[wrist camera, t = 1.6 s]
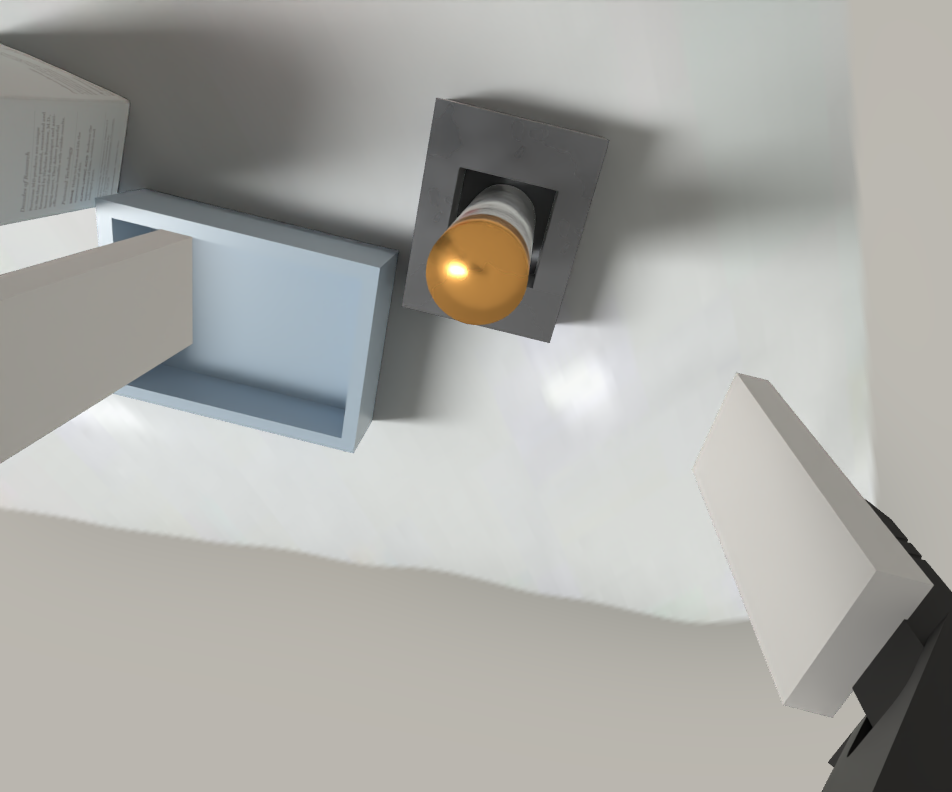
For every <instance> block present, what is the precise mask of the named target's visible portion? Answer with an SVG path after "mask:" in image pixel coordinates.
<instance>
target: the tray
mask: <svg viewBox="0 0 952 792" xmlns="http://www.w3.org/2000/svg"><path fill="white" fill-rule="evenodd" d="M95 207H96V220H97V233H98V246H99V247H100V246H104V245H107V244H111V243H114V242H118V241H121V240H125V239H128V238H132V237H135V236H139V235H142V234H146V233H149V232H153V231H156V230H160V229H162V230H166V231H170V232H174V233H178V234H182V235H186V236H190V237H192V309H193V344H191V345H189V346H188V347H186V348H185V349H183V350H181V351H180V352H178V353H177V354H175V355H173V356H172V357H170V358H169V359H167V360H165V361H164V362H162V363H161V364H159V365H157V366H156V367H154V368H153V369H151V370H149V371H148V372H146V373H145V374H143V375H141V376H140V377H138V378H137V379H135V380H133V381H132V382H130V383H129V384H127V385H125V386H124V387H122V388H121V389H119V390H117V391H116V392H114V393H113V394H117V395H121V396H125V397H129V398H133V399H137V400H141V401H145V402H149V403H153V404H157V405H161V406H165V407H169V408H173V409H177V410H181V411H185V412H189V413H193V414H197V415H201V416H205V417H209V418H213V419H218V420H222V421H226V422H230V423H234V424H238V425H242V426H246V427H250V428H254V429H258V430H262V431H266V432H270V433H274V434H278V435H282V436H286V437H290V438H294V439H298V440H302V441H306V442H310V443H314V444H318V445H322V446H326V447H330V448H334V449H338V450H342V451H346V452H350V453H354V451H355V450H356V448H357V446H358V444H359V443H360V441H361V439H362V438H363V436H364V434H365V432H366V431H367V429H368V427H369V425H370V424H371V422H372V419H373V412H374V406H375V399H376V393H377V387H378V380H379V374H380V367H381V361H382V355H383V348H384V342H385V335H386V329H387V323H388V316H389V310H390V303H391V297H392V291H393V284H394V278H395V271H396V265H397V259H398V252H399V251H397V250H393V249H389V248H385V247H381V246H377V245H373V244H369V243H365V242H360V241H356V240H352V239H348V238H344V237H340V236H336V235H332V234H328V233H324V232H320V231H316V230H312V229H308V228H303V227H299V226H295V225H291V224H287V223H283V222H279V221H275V220H271V219H267V218H263V217H259V216H255V215H251V214H247V213H242V212H238V211H234V210H230V209H226V208H222V207H218V206H214V205H210V204H206V203H202V202H198V201H194V200H190V199H185V198H181V197H177V196H173V195H169V194H165V193H161V192H157V191H153V190H149V189H139V190H134V191H128V192H123V193H118V194H112V195H107V196H102V197H96V198H95Z"/></svg>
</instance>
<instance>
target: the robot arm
mask: <svg viewBox="0 0 952 792" xmlns="http://www.w3.org/2000/svg"><path fill="white" fill-rule="evenodd" d="M191 344H193V309H192V237H190V236H186V235H182V234H178V233H174V232H170V231H166V230H162V229H160V230H156V231H153V232H149V233H146V234H142V235H139V236H135V237H132V238H128V239H125V240H121V241H118V242H114V243H111V244H107V245H104V246H100V247H97V248H93V249H90V250H86V251H83V252H79V253H76V254H72V255H69V256H65V257H62V258H58V259H55V260H51V261H48V262H44V263H41V264H37V265H34V266H30V267H27V268H23V269H19V270H16V271H12V272H9V273H5V274H2V275H0V463H2V462H4V461H5V460H7V459H9V458H10V457H12V456H13V455H15V454H17V453H18V452H20V451H21V450H23V449H25V448H26V447H28V446H29V445H31V444H33V443H34V442H36V441H37V440H39V439H41V438H42V437H44V436H45V435H47V434H49V433H50V432H52V431H53V430H55V429H57V428H58V427H60V426H61V425H63V424H65V423H66V422H68V421H69V420H71V419H73V418H74V417H76V416H77V415H79V414H81V413H82V412H84V411H85V410H87V409H89V408H90V407H92V406H93V405H95V404H97V403H98V402H100V401H101V400H103V399H105V398H106V397H108V396H109V395H111V394H113V393H114V392H116V391H117V390H119V389H121V388H122V387H124V386H125V385H127V384H129V383H130V382H132V381H133V380H135V379H137V378H138V377H140V376H141V375H143V374H145V373H146V372H148V371H149V370H151V369H153V368H154V367H156V366H157V365H159V364H161V363H162V362H164V361H165V360H167V359H169V358H170V357H172V356H173V355H175V354H177V353H178V352H180V351H181V350H183V349H185V348H186V347H188V346H189V345H191ZM692 471H693V474H694V476H695V479H696V482H697V484H698V487H699V489H700V492H701V495H702V497H703V500H704V502H705V505H706V507H707V510H708V513H709V515H710V518H711V520H712V523H713V526H714V528H715V531H716V533H717V536H718V538H719V541H720V544H721V546H722V549H723V551H724V554H725V557H726V559H727V562H728V564H729V567H730V569H731V572H732V575H733V577H734V580H735V582H736V585H737V588H738V590H739V593H740V595H741V598H742V600H743V603H744V606H745V608H746V611H747V613H748V616H749V619H750V621H751V624H752V626H753V629H754V632H755V634H756V636H757V639H758V642H759V644H760V647H761V649H762V652H763V655H764V657H765V660H766V663H767V665H768V668H769V670H770V673H771V675H772V678H773V681H774V683H775V686H776V688H777V691H778V693H779V696H780V699H781V701H782V704H783V705H785V706H789V707H792V708H797V709H800V710H804V711H808V712H812V713H816V714H820V715H824V716H828V717H831V718H833V716H834V715H835V714H836V712H837V711H838V710H839V709H840V707H841V706H842V705H843V703H844V702H845V701H846V699H847V698H848V697H849V695H850V694H851V693H852V692H853V691H854V692H855V694H856V696H857V698H858V700H859V702H860V704H861V706H862V708H863V710H864V712H865V714H866V715H865V717H864V718H863V719H862V720H861V722H860V723H859V724H858V726H857V727H856V728H855V729H854V731H853V732H852V733H851V734H850V735H849V737H848V738H847V739H846V740H845V742H844V743H843V744H842V745H841V747H840V748H839V749H838V750H837V752H836V753H835V754H834V755H833V757H832V758H831V759H830V760H829V762H828V763H829V764H831V765H832V766H833V767H834V769H833V771H832V773H831V775H830V776H829V778H828V780H827V782H826V784H825V786H824V788H823V790H822V792H952V592H951V590H950V589H949V588H948V587H947V586H946V584H945V583H944V582H943V581H942V580H941V578H940V577H939V576H938V575H937V574H936V573H935V571H934V570H933V569H932V568H931V566H930V565H929V564H928V563H927V562H926V561H925V560H922V559H921V557H922V556H921V554H920V553H919V552H918V551H917V550H916V548H915V547H914V546H913V545H912V544H911V543H907V541H908V539H907V538H906V536H905V535H904V534H903V533H902V532H901V531H900V529H899V528H898V527H897V526H896V525H895V523H894V522H893V521H892V520H891V519H890V518H889V517H887V516H886V515H885V514H884V513H882V512H881V511H880V510H879V509H877V508H876V507H875V506H874V505H872V504H871V503H870V502H868V501H867V500H865V499H864V498H863V497H862V496H861V494H860V493H859V492H858V491H857V489H856V488H855V487H854V486H853V484H852V483H851V482H850V481H849V479H848V478H847V477H846V476H845V475H844V473H843V472H842V471H841V470H840V468H839V467H838V466H837V465H836V463H835V462H834V461H833V460H832V458H831V457H830V456H829V455H828V453H827V452H826V451H825V450H824V449H823V447H822V446H821V445H820V444H819V442H818V441H817V440H816V439H815V437H814V436H813V435H812V434H811V432H810V431H809V430H808V429H807V428H806V426H805V425H804V424H803V423H802V421H801V420H800V419H799V418H798V416H797V415H796V414H795V413H794V411H793V410H792V409H791V408H790V406H789V405H788V404H787V403H786V402H785V400H784V399H783V398H782V397H781V395H780V394H779V393H778V392H777V390H776V389H775V388H774V387H773V385H772V384H771V383H770V382H769V381H768V380H764V379H760V378H756V377H752V376H748V375H744V374H740V373H736V374H735V376H734V379H733V381H732V383H731V385H730V387H729V389H728V392H727V394H726V396H725V398H724V400H723V403H722V405H721V407H720V409H719V411H718V413H717V416H716V418H715V420H714V422H713V424H712V426H711V429H710V431H709V433H708V435H707V437H706V439H705V442H704V444H703V446H702V448H701V450H700V453H699V455H698V457H697V459H696V461H695V463H694V466H693V468H692Z"/></svg>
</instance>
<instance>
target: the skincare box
mask: <svg viewBox="0 0 952 792" xmlns="http://www.w3.org/2000/svg"><path fill="white" fill-rule="evenodd" d="M129 107H130V103H129V101H128V100H127V99H125V98H123V97H121V96H119V95H117V94H115V93H113V92H111V91H109V90H106V89H104V88H102V87H100V86H97V85H95V84H93V83H91V82H89V81H86V80H84V79H82V78H80V77H78V76H75V75H73V74H71V73H69V72H67V71H64V70H62V69H60V68H58V67H55V66H53V65H51V64H49V63H46V62H44V61H42V60H40V59H37V58H35V57H33V56H31V55H28V54H26V53H23V52H21V51H18V50H15V49H12V48H10V47H7V46H5V45H3V44H1V43H0V226H1V225H6V224H11V223H16V222H21V221H26V220H31V219H37V218H42V217H47V216H52V215H58V214H62V213H67V212H73V211H78V210H83V209H88V208H93V207H95V198H96V197H102V196H107V195H112V194H117V191H118V184H119V177H120V170H121V163H122V156H123V149H124V142H125V136H126V129H127V122H128V115H129Z"/></svg>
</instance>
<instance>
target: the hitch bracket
mask: <svg viewBox="0 0 952 792" xmlns="http://www.w3.org/2000/svg"><path fill="white" fill-rule="evenodd" d="M608 143H609V140H608V139H606V138H603V137H599V136H595V135H591V134H587V133H583V132H579V131H575V130H571V129H566V128H562V127H558V126H554V125H550V124H546V123H542V122H538V121H534V120H529V119H525V118H521V117H517V116H513V115H509V114H505V113H501V112H497V111H493V110H488V109H484V108H480V107H476V106H472V105H468V104H464V103H460V102H456V101H452V100H447V99H440V98H436V102H435V109H434V115H433V121H432V127H431V133H430V139H429V145H428V151H427V157H426V163H425V169H424V175H423V181H422V187H421V193H420V199H419V205H418V211H417V217H416V223H415V229H414V235H413V241H412V247H411V253H410V259H409V265H408V271H407V278H406V284H405V290H404V296H403V302H402V307H405V308H409V309H413V310H418V311H422V312H426V313H430V314H434V315H438V316H442V317H446V318H450V319H453V318H452V317H450V316H448V315H447V314H446V313H445V312H443V311H442V310H441V309H440V308H439V307H438V305H437V304H436V303H435V301H434V299H433V298H432V296H431V294H430V291H429V289H428V285H427V280H426V265H427V260H428V257H429V254H430V251H431V250H432V248H433V246H434V245H435V243H436V242H437V241H438V239H439V238H440V237H441V236H442V235H443V234H444V233H445V231H446V230H447V229H448V228H449V227H450V226H451V225H452V223H453V222H454V221H455V220H456V217H457V212H458V207H459V202H460V197H461V192H462V187H463V182H464V177H465V172H466V169H470V170H474V171H478V172H483V173H487V174H491V175H495V176H499V177H503V178H507V179H511V180H515V181H519V182H523V183H528V184H532V185H536V186H540V187H544V188H548V189H552V190H556V194H555V197H554V201H553V205H552V209H551V212H550V216H549V220H548V224H547V227H546V231H545V235H544V239H543V242H542V246H541V250H540V254H539V257H538V261H537V265H536V269H535V272H534V274H532V273H529V276H528V283H527V288H526V291H525V294H524V296H523V298H522V300H521V302H520V303H519V305H518V306H517V307H516V308H515V310H514V311H513V312H511V313H510V314H509V315H508V316H506V317H505V318H503V319H501V320H499V321H497V322H494V323H490V324H485V325H478V326H482V327H487V328H491V329H495V330H499V331H503V332H507V333H511V334H515V335H519V336H523V337H527V338H531V339H535V340H539V341H543V342H547V343H550V340H551V337H552V333H553V330H554V327H555V323H556V320H557V316H558V313H559V310H560V306H561V303H562V299H563V296H564V293H565V289H566V286H567V282H568V279H569V276H570V272H571V269H572V265H573V262H574V259H575V255H576V252H577V248H578V245H579V242H580V238H581V235H582V231H583V228H584V225H585V221H586V218H587V214H588V211H589V208H590V204H591V201H592V197H593V194H594V191H595V187H596V184H597V180H598V177H599V174H600V170H601V167H602V163H603V160H604V157H605V153H606V150H607V146H608ZM454 320H455V319H454Z"/></svg>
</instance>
